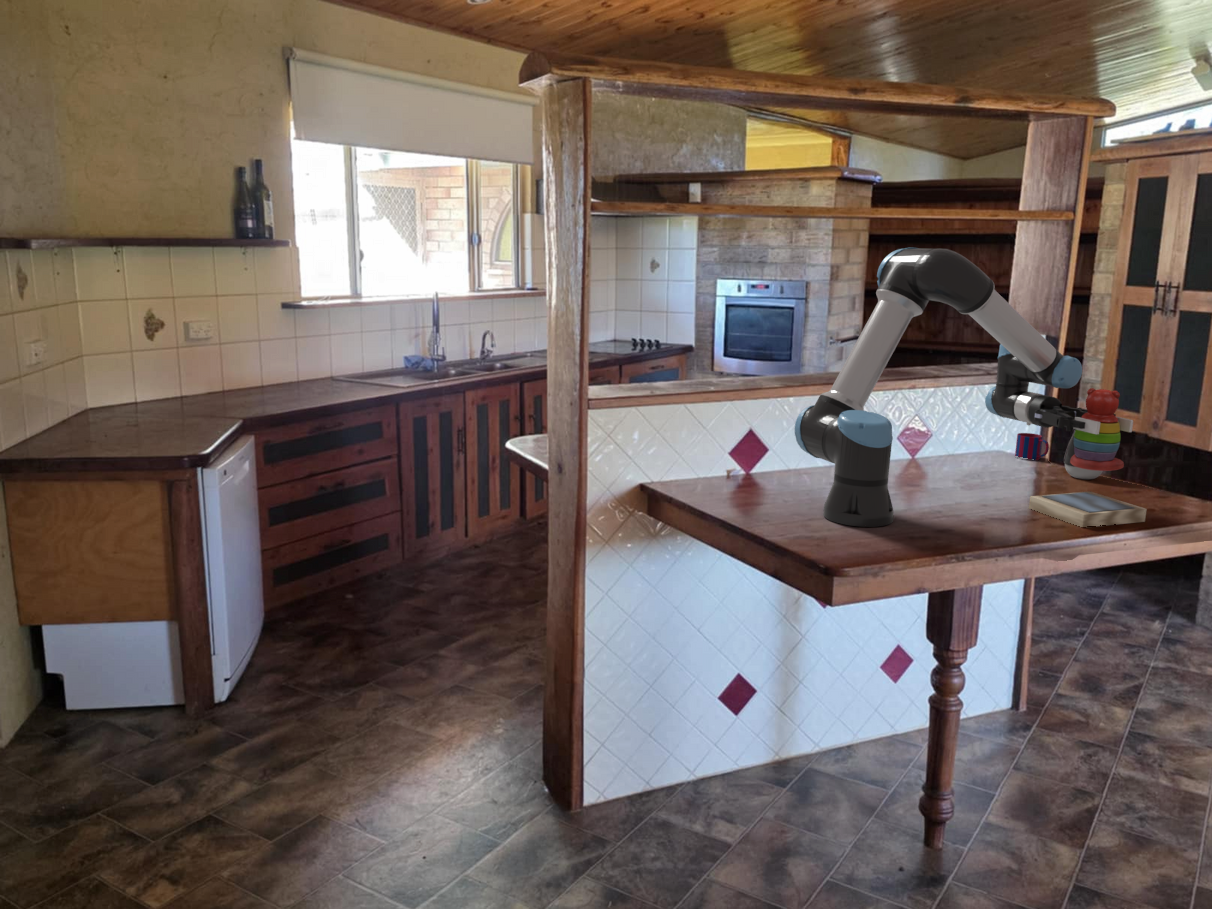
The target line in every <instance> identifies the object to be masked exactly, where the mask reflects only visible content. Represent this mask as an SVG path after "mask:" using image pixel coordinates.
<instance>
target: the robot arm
mask: <svg viewBox="0 0 1212 909" xmlns="http://www.w3.org/2000/svg"><path fill="white" fill-rule="evenodd" d="M876 277H877V281H876V282H877V286H878V287H877V289H876V292H875V294H876V298H877V303H876V305H875V307H874V309H873V311H872V312H871V314H870V317H869V318H868V320H867V322H866V324H865V325H864V327H863V329H862V330H861V333H860V334H859V336H858V338H857V340H856V342H855V344H854V346H853V347H852V348H851V351H850V353H849V355H848V357H847V358H846V360H845V363H844V364H843V366H842V368H841V369H840V372H839V373H838V375H837V377H836V379H835V381H834V382H833V385H831V387H830V389H829V391H826V392H823V393H820V394H819V397H818V398H817V400H816V402H815V404H814V405H810V406H808V407H805V408H804V409H802V410H801V412H800V413H799V414H798V416H797V417H796V420H795V423H794V424H795V425H794V436H795V440H796V442H797V445H798V446H799V448H800V449H801V450H802V451H804V452H805V453H806V454H809V455H810V456H812V457H813V458H816V459H822V460H824V461H826V462H828V463H829V462H830V463H831V464H834V471H833V472H834V474H833V476H834V477H833V482H832V483H833V484H832V485H831V488H830V490H829V493H828V495H827V498H826V500H825V502H824V504H823V517H824V518H825V519H827V520H828V521H831V522H834V523H838V524H840V525H844V526H845V525H846V526H852V527H853V526H854V527H860V528H861V527H865V528H867V527H868V528H873V527H874V528H875V527H883V526H888V525H891V524H892V523H893V521H894V508H893V502H892V499H891V495H890V491H889V475H890V474H889V473H890V462H891V452H892V446H893V445H892V444H893V439H894V438H893V437H894V436H893V424H892V422H891V420H890V419H888V418H887V417H886V416H884V415H882V414H880V413H877V412H873V411H872V412H870V411H867V410H865V409H864V408H865V406H866V403H867V402H868V400H869V398H870V396H871V394H872V392H873V390H874V389H875V386H876V385H877V384H878V381H879V379H880V377H881V376H882V374H883V373H884V372H883V371H884V370H885V368H886V367H887V365H888V362H889V361H890V359H891V357H892V355H893V353H894V352H895V351H896V348H897V346H898V344H899V343H900V340H901V338H902V337H903V335H904V333H905V331H906V330H907V328H908V326H909V324H910V322H911V320H912V319H913V318H914V317H918V316H920V315H922V314H923V313H924V310H925V309H926V307H927V305H928V303H929V302H940V303H943V304H946V305H949V306H951V307H953V308H954V309H955V310H956V311H957V312H958V313H959V314H962V315H968V316H970V317H971V318H972V319H973V320H974V321H975V322H976V323H978V325H980V327H982V328H983V329H984V331H986V332H987V333H988V334H990V336H991V337H993V338H994V340H996V341H997V343H999V350H998V356H997V370H996V371H997V373H996V384H995V386H992V387H991V388H990V389H989V390H988V392H987V394H986V396H985V399H984V403H985V408H986V409H987V410H988V412H989V413H991V414H992V415H996V416H999V417H1000V418H1004V419H1010V420H1016V421H1020V422H1023V423H1026V425H1027V426H1031V425H1035V426H1036V427H1037V426H1038V427H1042V428H1052V427H1055V428H1056V427H1057V428H1058V429H1064V428H1066V429H1065V432H1072V431H1073V429H1076V430H1080V431H1084V432H1088V433H1093V434H1099V430H1100V422H1098V421H1093V420H1089V419H1084V418H1082V415H1083V414H1085V413H1087V412H1088V411H1087V408H1082V407H1077V408H1075V407H1071V406H1069V405H1063V404H1062V402H1061V401H1060V399H1059V398H1057V397H1055V396H1051V395H1046V394H1041V393H1038V392H1031V391H1029V385H1030V383H1031V384H1037V385H1043V386H1048V387H1052V388H1056V389H1070V388H1072V387H1074V386H1076V385H1077V384H1078V383H1079V381H1080V380H1081V377H1082V373H1083V365H1082V363H1081V362H1080V360H1079V359H1078V358H1076V357H1073V356H1070V355H1063V354H1062V353H1061V352H1060V351H1058V349H1057V348H1056V347H1054V346H1053V345H1052V344H1051V343H1050V342H1049V340H1047V339H1046V338H1045V337H1044V336H1043V335H1042V334H1041V333H1040V332H1039V331H1038V330H1037V329H1036V328H1035V327H1034V326H1032V325H1031V323H1030V322H1029V321H1028V320H1027V319H1025V317H1023V316H1022V315H1021V313H1019V312H1018V311H1017V309H1015V308H1014V307H1013V306H1012V305H1011V304H1010V303H1009V302H1008V301H1007V300H1006V299H1005V298H1004V297H1003V296H1001V295H1000V294H999V292H997V290H996V288H995V283H994V281H993V279H991V278H990V277H989V276H988V275H987V274H986V273H985V272H984V271H983V270H981V268H980V267H978V266H977V265H976V264H975V263H973V262H972V261H971V260H969V259H968V258H967V257H965V256H963V254H960V253H959V252H956V251H954V250H951V249H949V248H918V247H905V248H898V249H896V250H893V251H892V252H890V253H889V254H887V255H886V256H885V257H884V258H883V260H882V261H881V263H880V264H879V266H878V269H877V274H876ZM1113 415H1114V416H1116V415H1117V414H1115V413H1114V414H1113ZM1116 417H1117V419H1118V422H1119V425H1120V431H1121V432H1122V431H1123V432H1126V433H1132V432H1133V428H1134V426H1133V425H1134V420H1133V419H1129V418H1124V417H1121V416H1116ZM1072 427H1074V428H1073V429H1072Z"/></svg>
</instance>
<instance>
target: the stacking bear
mask: <svg viewBox="0 0 1212 909" xmlns="http://www.w3.org/2000/svg"><path fill="white" fill-rule="evenodd" d="M1086 394H1087V396H1086V398H1085V409H1087V411H1088V412H1087V413H1085V414H1083V415H1082V418H1084V419H1089V420H1093V421H1098V422H1100V430H1099V434H1093V433H1088V432H1084V431H1080V430H1074V432H1075V434H1074V433H1073V434H1074V452H1075V455H1073V456H1072V457H1071V460H1070V463H1071V464H1072V465H1073V466H1075V467H1078V468H1082V469H1087V470H1095V471H1103V472H1108V471H1110V472H1111V471H1117V470H1121V469H1123V468H1124V467H1125V466H1124V465H1125V463H1124V461H1123V460H1122V459H1120V458H1117V457H1115V456H1116V455H1117V452H1118V450H1119V448H1120V446H1121V445H1120V444H1121V438H1122V437H1121V430H1120V425H1119V422H1118V419H1117V417H1118V416H1114V415H1113V414H1115V413H1116V411H1117V410H1118V408H1119V404H1120V400H1119V398H1120V397H1121V395H1120V392H1118V390H1113V391H1112V390H1109V389H1104V388H1103V389H1101V388H1099V389H1096V388H1094V387H1093V388H1092V387H1091V388H1089V389H1088V390H1087V392H1086Z"/></svg>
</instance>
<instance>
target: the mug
mask: <svg viewBox="0 0 1212 909" xmlns="http://www.w3.org/2000/svg"><path fill="white" fill-rule="evenodd" d="M1042 443H1044V444H1045V450H1044V453H1043V454H1041V451H1042ZM1015 444H1016V445H1015V451H1014V454H1015V455H1014V457H1015V456H1018V457H1023V458H1028V459H1034V460H1033V461H1039V460H1040V459H1041V458H1043V457H1046V455H1047V454H1048V453H1049V449H1050V444H1049V442H1048V441H1047V440H1045V439H1043V435H1042V434H1037V433H1031V432H1030V433H1029V432H1020V433H1019V432H1018V433H1017V434H1016V442H1015Z"/></svg>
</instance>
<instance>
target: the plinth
mask: <svg viewBox="0 0 1212 909" xmlns="http://www.w3.org/2000/svg"><path fill="white" fill-rule="evenodd" d="M1028 509H1029V510H1031V509H1032V510H1031V511H1034V510H1035V511H1034V512H1037V511H1038V512H1037V513H1039V512H1040V514H1042V513H1043V515H1045V514H1046V515H1045V516H1048V515H1049V516H1048V517H1050V516H1051V518H1053V517H1054V519H1056V518H1057V519H1056V520H1059V519H1060V520H1059V521H1062V520H1063V522H1064V521H1065V523H1067V522H1068V524H1070V523H1071V524H1070V525H1073V524H1074V526H1075V525H1077V526H1076V527H1078V526H1080V527H1079V528H1081V527H1086V528H1088V527H1087V526H1096V527H1103V526H1102V525H1106V526H1115V525H1114V524H1116V525H1124V524H1134V523H1135V524H1137V523H1145V522H1146V516H1147V508H1145V507H1142V506H1138V505H1136V504H1133V503H1129V502H1126V501H1122V500H1120V499H1115V498H1113V497H1110V496H1107V495H1103V494H1100V493H1096V492H1093V491H1079V492H1078V491H1077V492H1068V493H1056V494H1055V493H1054V494H1043V495H1031V496H1030V497H1029V504H1028ZM1100 525H1101V526H1100Z"/></svg>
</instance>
